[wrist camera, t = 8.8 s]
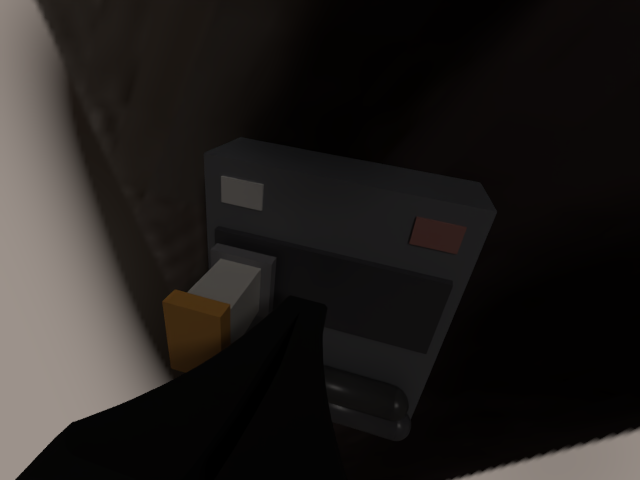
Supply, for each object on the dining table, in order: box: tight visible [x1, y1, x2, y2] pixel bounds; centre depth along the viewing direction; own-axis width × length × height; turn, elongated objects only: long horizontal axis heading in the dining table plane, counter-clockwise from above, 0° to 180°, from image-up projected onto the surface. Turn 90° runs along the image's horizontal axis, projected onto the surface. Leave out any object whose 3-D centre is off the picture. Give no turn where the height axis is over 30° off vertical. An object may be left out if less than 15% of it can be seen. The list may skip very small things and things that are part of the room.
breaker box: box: [204, 137, 497, 441], centre depth 14 cm, size 10×11×5 cm
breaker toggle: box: [162, 243, 277, 373], centre depth 12 cm, size 2×3×4 cm
